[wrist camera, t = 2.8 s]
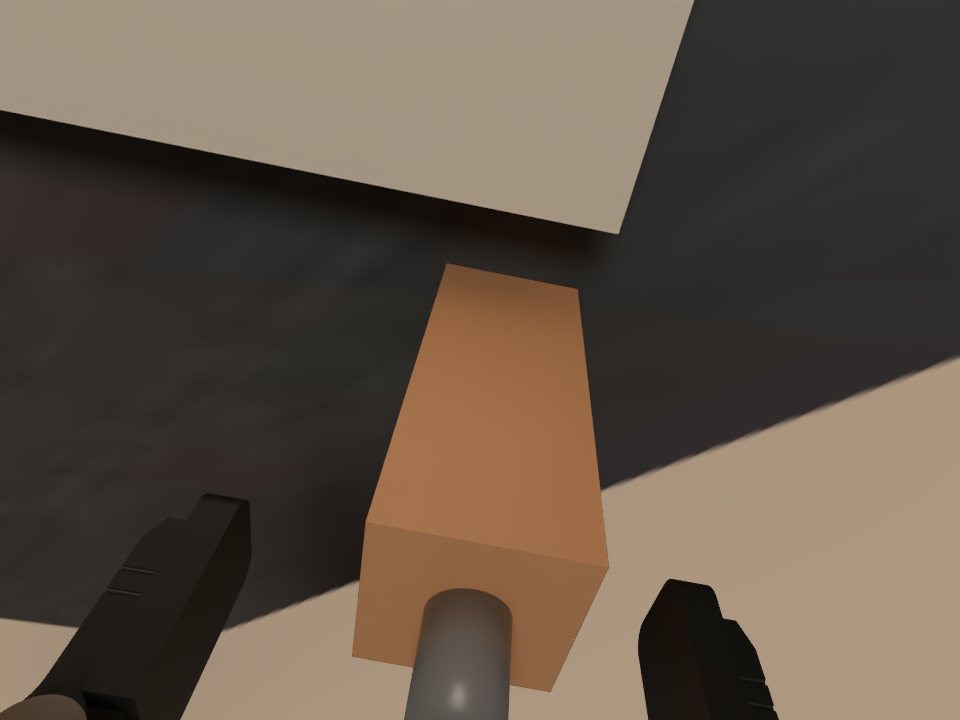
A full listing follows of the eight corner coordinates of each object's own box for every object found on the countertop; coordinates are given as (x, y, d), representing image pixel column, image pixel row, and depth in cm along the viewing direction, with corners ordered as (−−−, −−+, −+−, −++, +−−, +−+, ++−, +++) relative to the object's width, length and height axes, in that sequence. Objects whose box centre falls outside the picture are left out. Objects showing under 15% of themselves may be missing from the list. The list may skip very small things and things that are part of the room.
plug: (577, 289, 18) (622, 690, 8) (546, 393, 20) (551, 809, 10) (446, 263, 18) (329, 638, 8) (429, 371, 20) (321, 769, 10)
